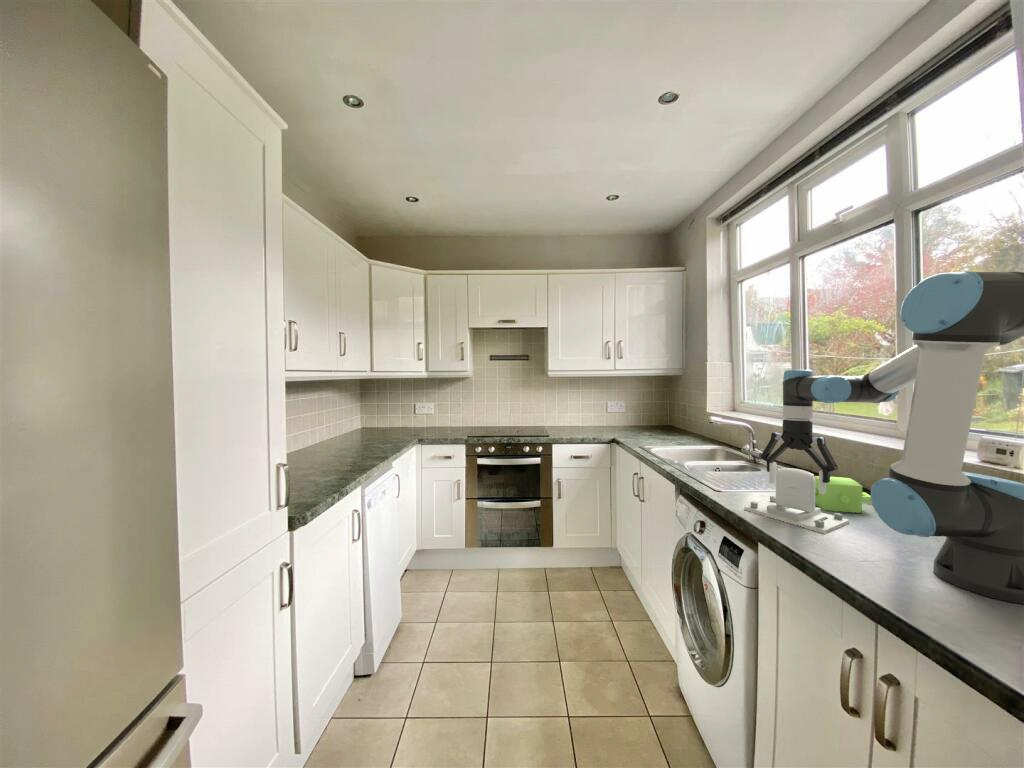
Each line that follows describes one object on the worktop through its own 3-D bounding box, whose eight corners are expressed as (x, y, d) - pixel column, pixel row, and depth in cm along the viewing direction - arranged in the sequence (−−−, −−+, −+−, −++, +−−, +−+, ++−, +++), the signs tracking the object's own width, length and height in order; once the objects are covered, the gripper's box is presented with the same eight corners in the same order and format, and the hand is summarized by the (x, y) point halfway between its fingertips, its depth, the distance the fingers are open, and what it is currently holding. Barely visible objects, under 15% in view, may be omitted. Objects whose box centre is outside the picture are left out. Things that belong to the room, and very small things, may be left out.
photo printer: (773, 505, 125) (774, 466, 124) (777, 502, 128) (778, 464, 127) (812, 514, 117) (813, 473, 116) (816, 511, 120) (818, 471, 119)
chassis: (849, 523, 117) (849, 514, 117) (824, 533, 109) (824, 525, 109) (770, 501, 136) (770, 494, 136) (744, 509, 128) (744, 502, 128)
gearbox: (808, 511, 128) (809, 483, 128) (796, 500, 138) (797, 474, 137) (876, 517, 123) (877, 487, 122) (859, 505, 132) (860, 478, 131)
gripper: (852, 422, 112) (851, 496, 113) (761, 415, 134) (760, 477, 134) (841, 424, 109) (840, 500, 109) (749, 416, 130) (748, 480, 130)
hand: (796, 487), depth 121 cm, fingers open, 13 cm apart
